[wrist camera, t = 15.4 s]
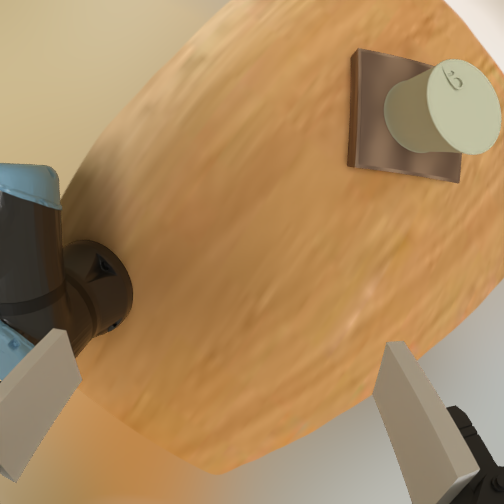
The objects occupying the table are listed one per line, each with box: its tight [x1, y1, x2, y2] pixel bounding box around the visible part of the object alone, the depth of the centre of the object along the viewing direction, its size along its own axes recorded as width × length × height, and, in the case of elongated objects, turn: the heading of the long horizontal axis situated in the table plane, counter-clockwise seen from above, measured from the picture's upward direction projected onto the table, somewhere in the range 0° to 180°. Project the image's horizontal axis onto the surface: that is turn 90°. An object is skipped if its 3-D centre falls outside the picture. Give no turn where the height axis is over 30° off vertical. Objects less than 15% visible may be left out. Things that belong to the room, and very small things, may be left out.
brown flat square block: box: [347, 48, 462, 183], centre depth 34 cm, size 15×15×4 cm
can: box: [384, 59, 501, 155], centre depth 26 cm, size 9×9×12 cm
